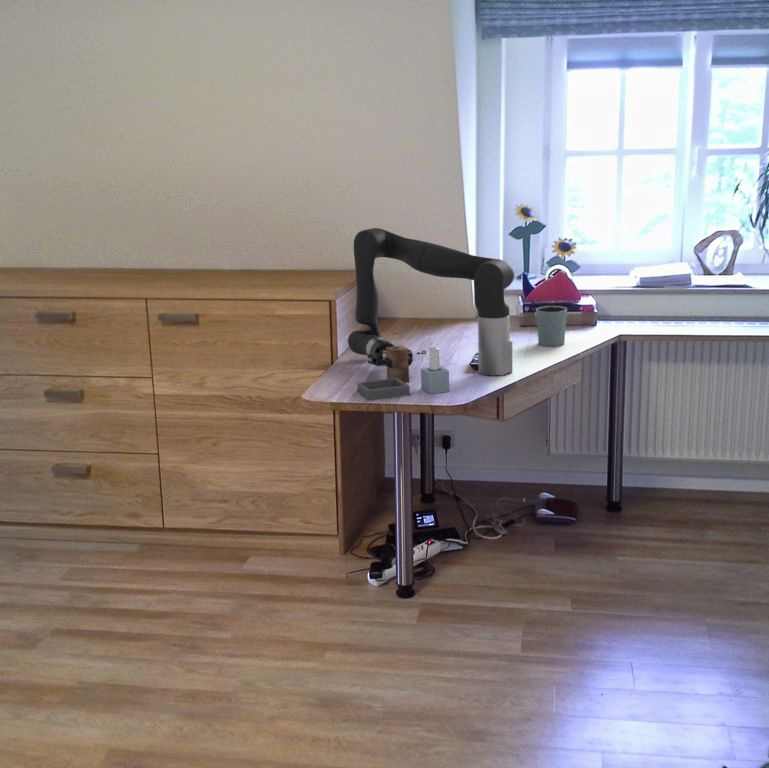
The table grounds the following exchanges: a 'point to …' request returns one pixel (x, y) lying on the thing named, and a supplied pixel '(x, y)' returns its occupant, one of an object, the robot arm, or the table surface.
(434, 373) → the square socket block
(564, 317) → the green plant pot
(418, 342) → the table surface
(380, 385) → the tray
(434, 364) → the cylinder
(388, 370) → the walnut block
